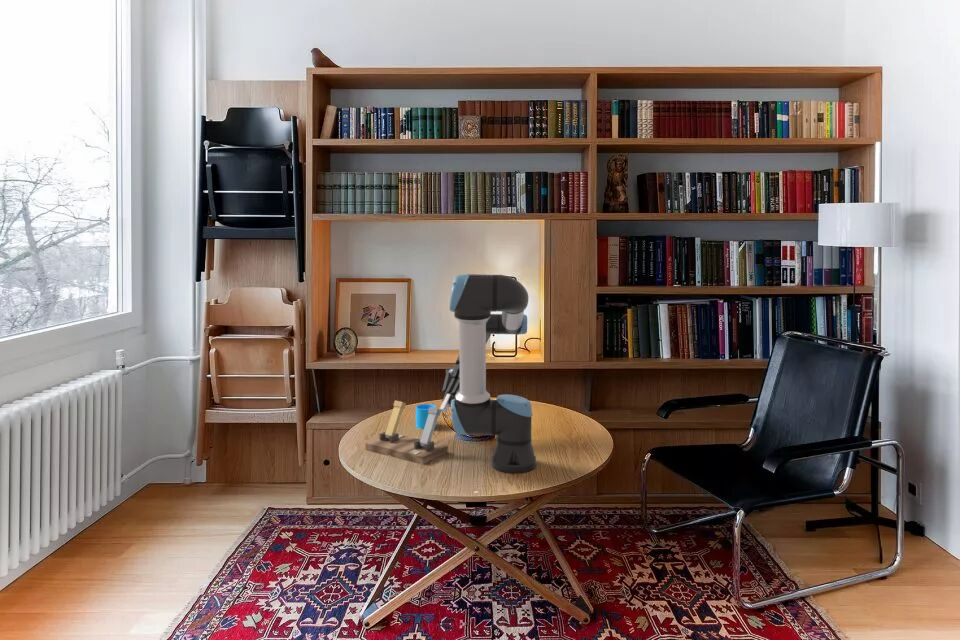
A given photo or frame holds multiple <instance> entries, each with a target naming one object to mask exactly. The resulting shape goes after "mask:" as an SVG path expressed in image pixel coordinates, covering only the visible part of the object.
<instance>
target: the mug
mask: <svg viewBox="0 0 960 640" xmlns="http://www.w3.org/2000/svg"><path fill="white" fill-rule="evenodd" d="M429 407H432V408H437V406H436V405H435V404H431V403H430V404H429V403H424V404H418V405H416V406H415V428H416V427H417V428H416V429H418V428H421V429H420V430H422V429H424V427H425V424H426V421H427V418H428V415H429V413H428V411H429ZM435 427H437V424H436V425H435Z"/></svg>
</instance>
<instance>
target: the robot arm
mask: <svg viewBox="0 0 960 640" xmlns="http://www.w3.org/2000/svg"><path fill="white" fill-rule="evenodd" d="M528 293H529V292H528V290H527V289H526V288H525V286H524V285H523V284H522V283H521V282H519V281H518V280H517V279H515V278H513V277H511V276H508V275H506V274H505V275H504V274H479V273H478V274H470V273H468V274H467V273H466V274H458V275H455V276H454V278H453V281H452V286H451V292H450V299H449V311H450V312H453V313H454V314H453V315H454V318H455V320H457V321H458V326H459V327H458V328H459V329H458V333H459V335H458V336H459V337H458V338H459V350H458V351H459V355H458V357H457V359H456V360H455V361H456V362H455V364H454V366H453V367H452V368H451V369H448V368H447V369H445V377H444V381H443V386H442V389H441V390H442V392H443V394H444V396H443V398H442V400H441V401H442V403H441V405H440V408H439V410H441V412H442V413H444V414H447V413H448V410H449V408H450V416H451V417H450V418H451V423H452V427H453V428H452V429H453V431H454V432H455V433H456V434H457V435H464V436H465V435H466V436H496V442H495V446H494V449H493V452H492V453H493V454H492V455H491V458H490V459H491V460H490V462H491V463H490V464H491V467H492V468H493V469H494V470H497V471H499V472H502V473H511V474H520V473H526V472H530V471H533V470H534V469H536V467H537V457H536V456H535V452H534V447H533V445H532V419H533V412H532V410H533V409H532V402H530V400H529V399H527V398H525V397H524V396H520V395H515V394H499V395H497V397H496V399H491V394H490V393H489V392H488V391H487V387H486V386H487V379H486V378H487V375H486V374H487V360H486V359H487V343H488V341H489V340H490V338H491V335H517V336H518V335H526V334H527V333H528V316H527V315H526V314H525V311H526V309H527V307H528V305H529V294H528ZM494 312H495V313H494ZM496 312H501V313H496Z"/></svg>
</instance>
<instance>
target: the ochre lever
mask: <svg viewBox="0 0 960 640" xmlns="http://www.w3.org/2000/svg"><path fill="white" fill-rule="evenodd" d="M406 406H407V403H406V402H403V401H401V400H394V402H393V408H392V409H393V410H392V412H391V415H390V418H389V421H388V424H387V426H386V431H385V432H386V433H385V438H387V439H390V436H392V435H394V434H397V430H398V427H399V423H400V421H401V417H402V415H403V411H404V410H405V409H406Z"/></svg>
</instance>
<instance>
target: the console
mask: <svg viewBox="0 0 960 640" xmlns="http://www.w3.org/2000/svg"><path fill="white" fill-rule="evenodd" d="M385 433H386V431H384V432H381V433H379V437H377V438H375V439H372V440H370V441H367V442H365V450H366V451H370V452H373V453H377V452H378V453H377V454H381V453H382V455H385V454H386V455H385V456H389V455H390V457H394V458H396V457H398V458H397V459H400V458H401V459H402V460H404V459H405V460H404V461H408V460H409V462H413V463H417V464H420V463H421V465H424V464H426V463H428V462H429V463H430V462H431V461H433V460H435V459H437V458H439V457H441V456H444V455H445V454H447V453H448V450H449V449H448V445H446V444H443V443H438V442H435V441H432V440H431V442H430V443H427V444H425V447H421V446H420V440H421V438H416V437H411V436H408V435H403V434H399V433H395V434H394V435H392V436H390V439H387V438H385ZM430 460H431V461H430Z"/></svg>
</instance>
